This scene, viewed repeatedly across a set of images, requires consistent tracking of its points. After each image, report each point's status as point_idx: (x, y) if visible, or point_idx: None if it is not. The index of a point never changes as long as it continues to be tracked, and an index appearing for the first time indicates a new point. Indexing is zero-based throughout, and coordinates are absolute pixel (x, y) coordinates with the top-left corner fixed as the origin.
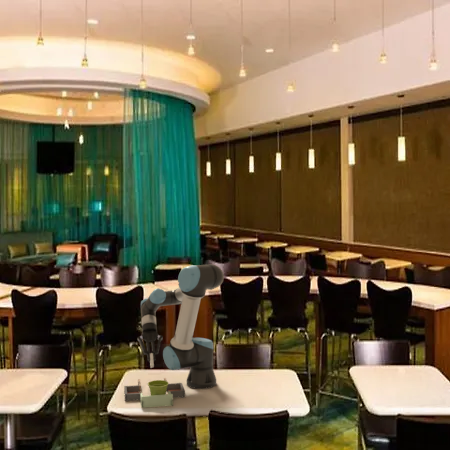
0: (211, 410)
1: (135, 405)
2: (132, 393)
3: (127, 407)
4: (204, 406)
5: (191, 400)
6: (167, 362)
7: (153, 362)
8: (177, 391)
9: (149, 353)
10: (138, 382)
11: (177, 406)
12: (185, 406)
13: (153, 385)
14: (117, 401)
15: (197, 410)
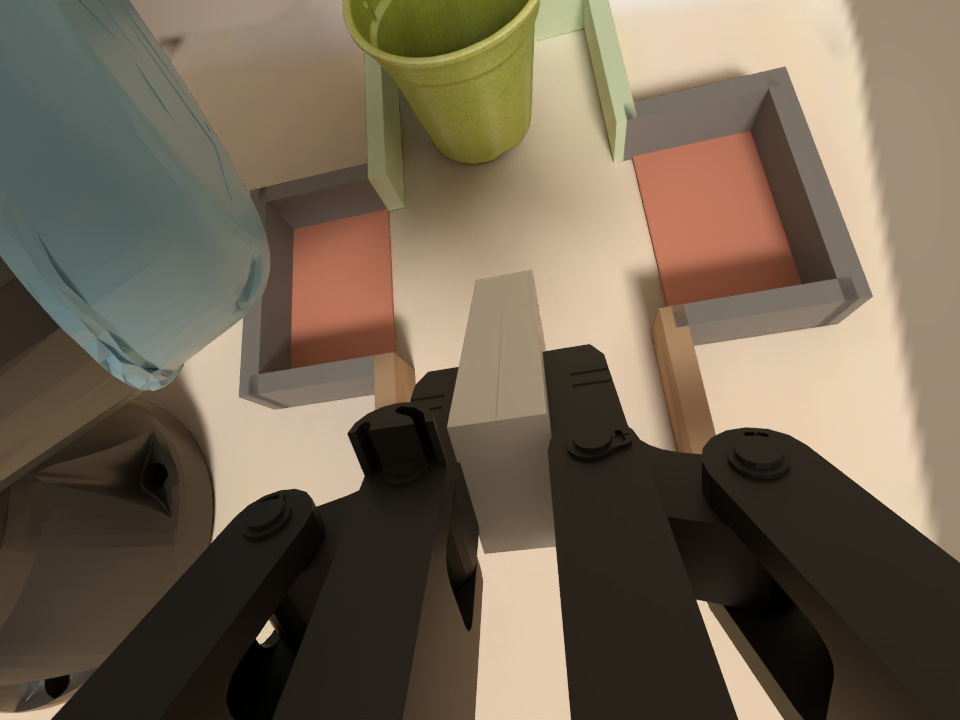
0: (177, 36)
1: (651, 43)
2: (712, 97)
3: (708, 3)
4: (198, 83)
5: (250, 166)
6: (219, 168)
7: (474, 299)
8: (310, 177)
9: (564, 452)
10: (713, 427)
11: (353, 63)
12: (304, 69)
13: (499, 63)
14: (834, 98)
15: (248, 26)
